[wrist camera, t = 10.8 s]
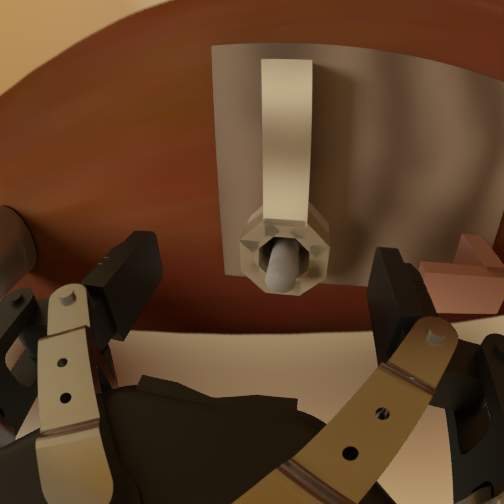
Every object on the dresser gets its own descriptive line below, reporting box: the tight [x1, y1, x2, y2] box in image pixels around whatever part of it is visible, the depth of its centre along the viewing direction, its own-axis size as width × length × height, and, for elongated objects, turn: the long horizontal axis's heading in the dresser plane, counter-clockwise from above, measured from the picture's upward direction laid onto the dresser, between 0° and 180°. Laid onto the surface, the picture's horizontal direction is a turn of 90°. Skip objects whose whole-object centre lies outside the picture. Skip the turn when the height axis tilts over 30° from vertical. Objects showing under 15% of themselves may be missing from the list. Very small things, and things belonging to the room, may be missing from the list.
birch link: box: [239, 59, 330, 296], centre depth 19 cm, size 15×6×4 cm, turn 2°
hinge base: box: [212, 43, 504, 293], centre depth 18 cm, size 22×18×6 cm
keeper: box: [418, 234, 504, 314], centre depth 19 cm, size 7×3×6 cm, turn 92°
